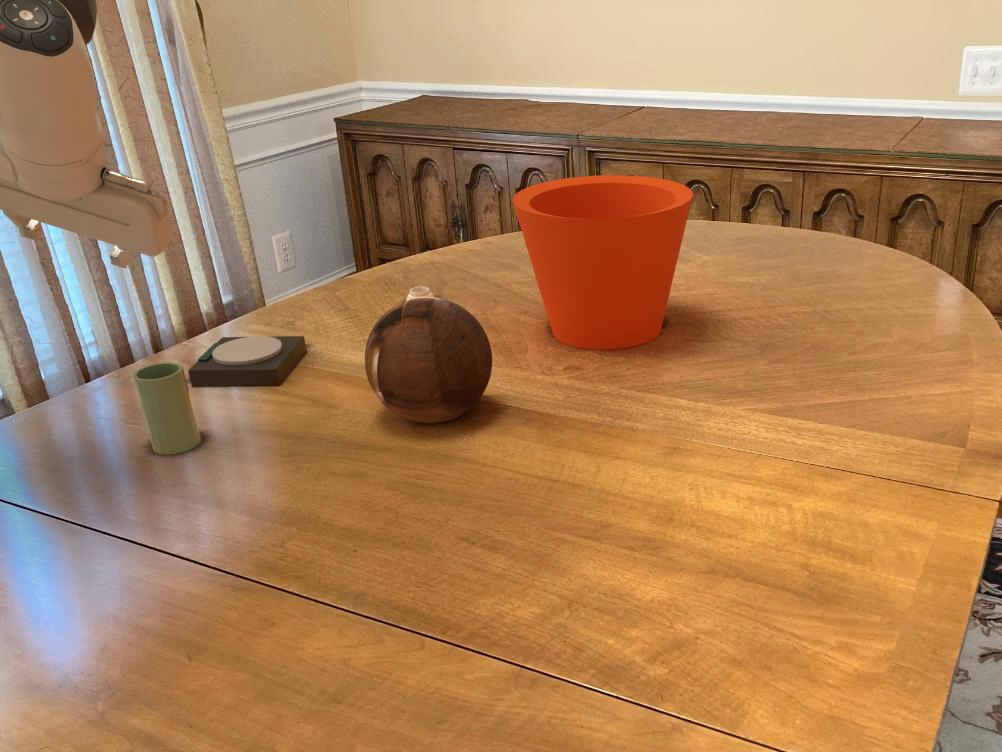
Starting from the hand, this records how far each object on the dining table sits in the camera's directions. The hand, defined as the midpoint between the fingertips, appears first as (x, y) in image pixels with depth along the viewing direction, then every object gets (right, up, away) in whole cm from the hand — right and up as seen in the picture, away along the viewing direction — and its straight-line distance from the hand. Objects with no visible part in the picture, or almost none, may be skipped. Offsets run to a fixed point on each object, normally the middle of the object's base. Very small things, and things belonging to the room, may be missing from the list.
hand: (77, 248), depth 107 cm
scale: (+9, -11, +29) cm, 32 cm away
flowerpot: (+58, -4, +38) cm, 70 cm away
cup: (+8, -22, +8) cm, 25 cm away
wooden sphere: (+37, -18, +14) cm, 43 cm away
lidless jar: (+29, +1, +50) cm, 57 cm away
